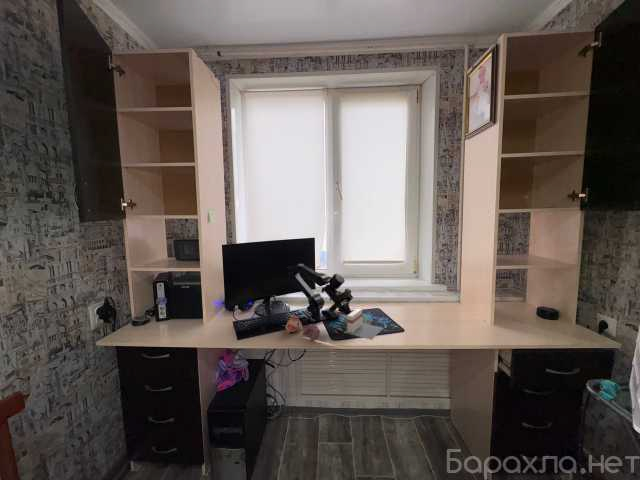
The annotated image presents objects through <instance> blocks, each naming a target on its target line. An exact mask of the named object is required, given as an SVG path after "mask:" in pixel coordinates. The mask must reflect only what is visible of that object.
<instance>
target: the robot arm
mask: <svg viewBox="0 0 640 480" xmlns="http://www.w3.org/2000/svg"><path fill="white" fill-rule="evenodd" d="M290 267H291V268H289V267H288V268H289V269H288V274H289V275H290V278H291V280H290V281H292V282H294V284H295V285H296V286H297V288H299V290H300V291H301V292H302V294H303V295H304V296H305V298H307V302H308V304H309V305H308V306H307V307H306V310H307V312H308V313H310V318H312V319H315V320H316V321H318V322H321V321H320V318H321V310H322V309H324V306H325V299H324V297H323V296H322V295H321V294H320V293H319V292H318V293H315V292H314V291H313V289H312V288H311V287H309V285H308V284H307V283H306V281H304V279H303V278H302V277H301V275H300V273H301V274H303V275H305V276H306V277H308V278H310V279H312V280H313V282H314V283H315V285H317V286H318V287H321V293H324V292H325V293H326V294H327V295H328V297H329V301H332V302H333V304H331V306H330V307H329V310H328V311H329V313H330V314H333V313H335V311H336V310H337V309H338V310H337V312H339V313H342V314H344V315H346V316H347V315H348V314H350V313H351V312H352V311H351V309H350V302H351V301H352V300H353V299H354V296H353V295H352V290H351V289H350V288H348V287H347V288H345V289H344V291H343V292H342V291H341V290H338V289H339V288H341V286H342V285H343V284H344V283H345V282H346V281H345V278H344V277H343V276H342V275H340V274H338V273H333V275H332V276H329V275H328V274H325V273H322V272H318V271H315V270H314V269H312V268H310V267H309V266H306V265H305V264H304V263H297V264H295V265H293V266H290ZM297 271H299V273H296V272H297Z"/></svg>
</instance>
